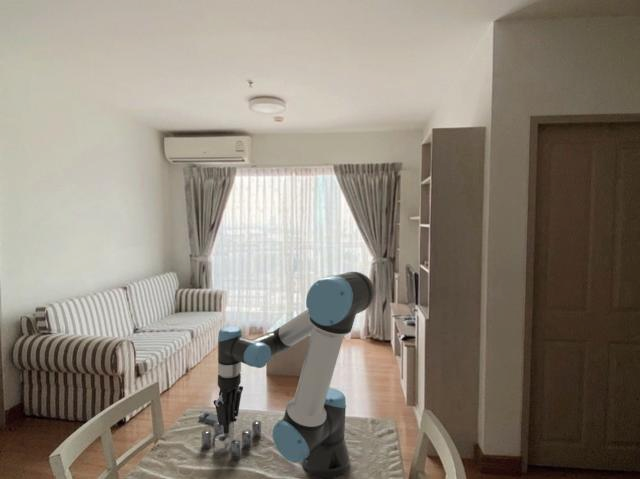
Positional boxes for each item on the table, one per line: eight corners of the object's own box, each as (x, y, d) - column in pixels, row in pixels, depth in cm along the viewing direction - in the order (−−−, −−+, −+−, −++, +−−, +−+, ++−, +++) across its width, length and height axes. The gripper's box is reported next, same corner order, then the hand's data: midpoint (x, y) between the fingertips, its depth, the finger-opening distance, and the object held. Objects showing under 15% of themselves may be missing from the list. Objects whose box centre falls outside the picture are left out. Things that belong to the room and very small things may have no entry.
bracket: (221, 428, 130) (221, 422, 130) (198, 421, 133) (198, 416, 133) (227, 422, 133) (227, 417, 133) (205, 416, 137) (205, 411, 137)
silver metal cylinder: (232, 447, 118) (233, 436, 118) (223, 456, 114) (224, 444, 113) (220, 443, 120) (220, 432, 120) (211, 452, 115) (211, 440, 115)
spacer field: (262, 435, 125) (262, 421, 125) (236, 461, 112) (236, 446, 111) (228, 424, 131) (228, 411, 131) (199, 447, 118) (199, 433, 117)
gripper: (232, 363, 126) (231, 427, 127) (207, 378, 114) (206, 448, 115) (250, 368, 123) (248, 433, 124) (225, 383, 111) (224, 455, 112)
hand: (228, 440), depth 120 cm, fingers closed
